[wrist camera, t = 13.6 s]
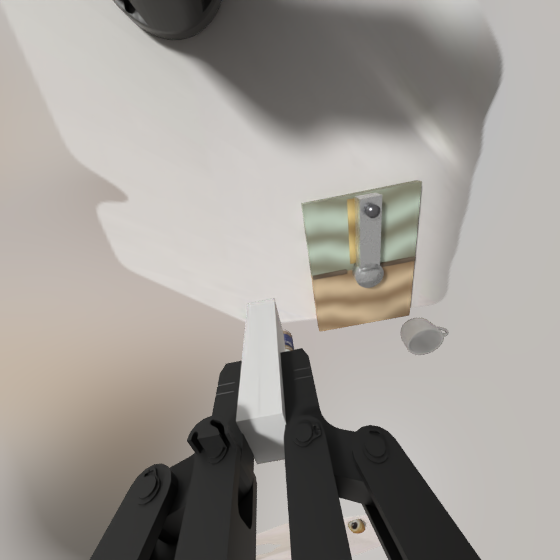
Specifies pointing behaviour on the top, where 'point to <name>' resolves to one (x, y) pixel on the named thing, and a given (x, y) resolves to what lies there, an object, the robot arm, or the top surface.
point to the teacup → (422, 336)
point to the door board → (342, 257)
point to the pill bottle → (288, 340)
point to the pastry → (356, 526)
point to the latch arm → (368, 240)
